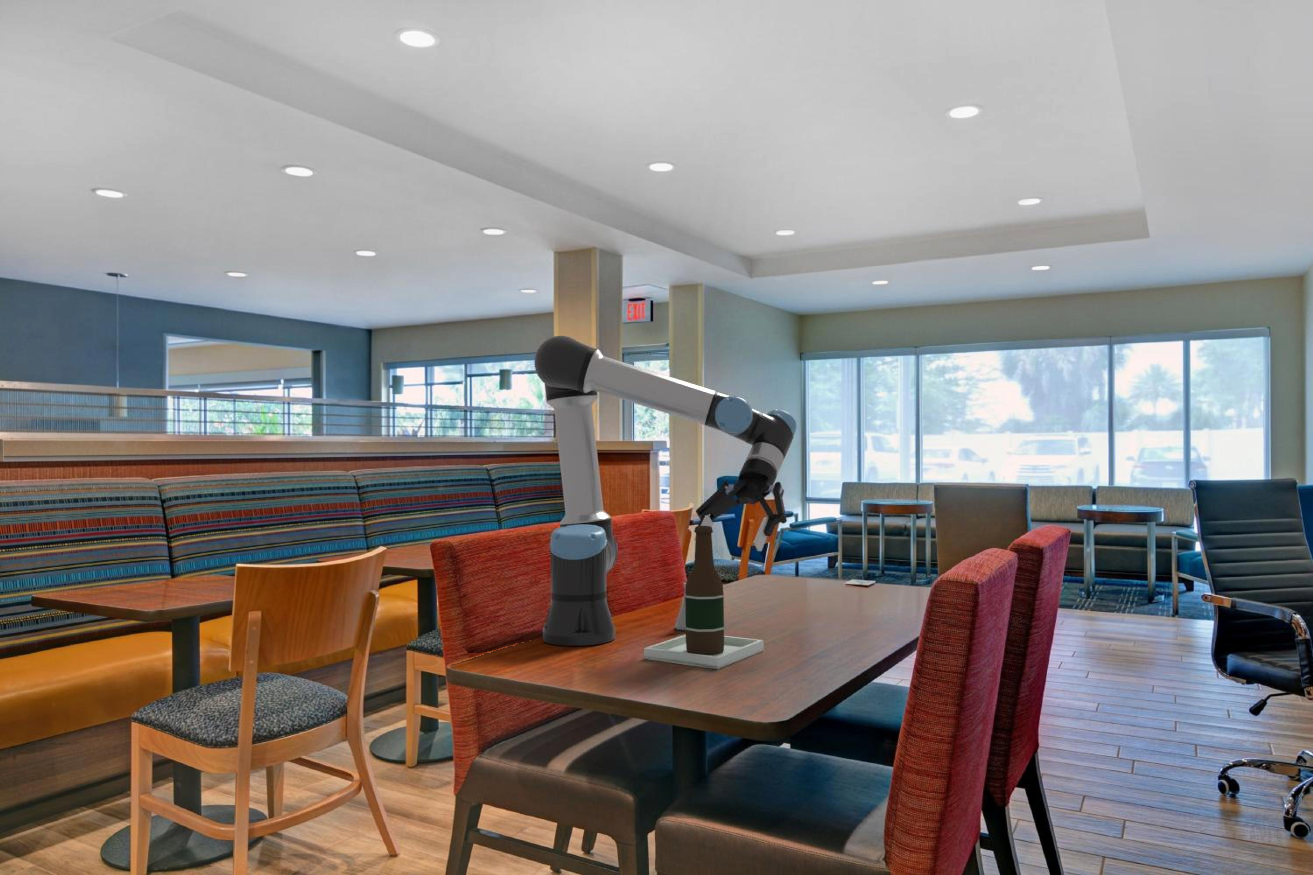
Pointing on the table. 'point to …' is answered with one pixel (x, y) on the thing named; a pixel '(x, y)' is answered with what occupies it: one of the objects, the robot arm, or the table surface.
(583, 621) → the robot arm
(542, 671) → the table surface
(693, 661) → the tray
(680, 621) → the flask
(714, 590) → the beer bottle
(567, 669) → the table surface
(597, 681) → the table surface
